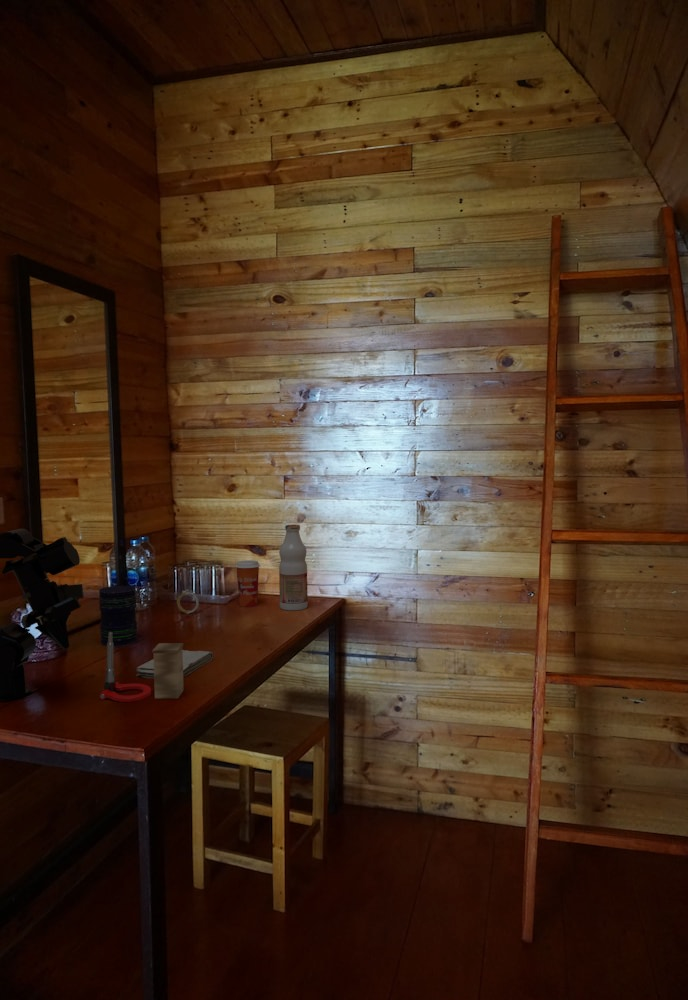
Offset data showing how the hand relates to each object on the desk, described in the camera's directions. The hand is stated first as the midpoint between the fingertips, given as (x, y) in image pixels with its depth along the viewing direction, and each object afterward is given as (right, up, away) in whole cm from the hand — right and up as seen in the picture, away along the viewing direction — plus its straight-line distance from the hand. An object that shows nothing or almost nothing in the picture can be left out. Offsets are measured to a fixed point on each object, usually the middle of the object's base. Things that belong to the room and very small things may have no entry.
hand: (66, 648), depth 149 cm
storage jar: (-2, -7, +42) cm, 42 cm away
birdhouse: (+22, -10, +2) cm, 25 cm away
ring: (+10, -5, +74) cm, 75 cm away
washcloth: (+19, -9, +19) cm, 28 cm away
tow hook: (+13, -11, 0) cm, 17 cm away
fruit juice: (+44, -4, +81) cm, 92 cm away
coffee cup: (+28, -4, +85) cm, 90 cm away
